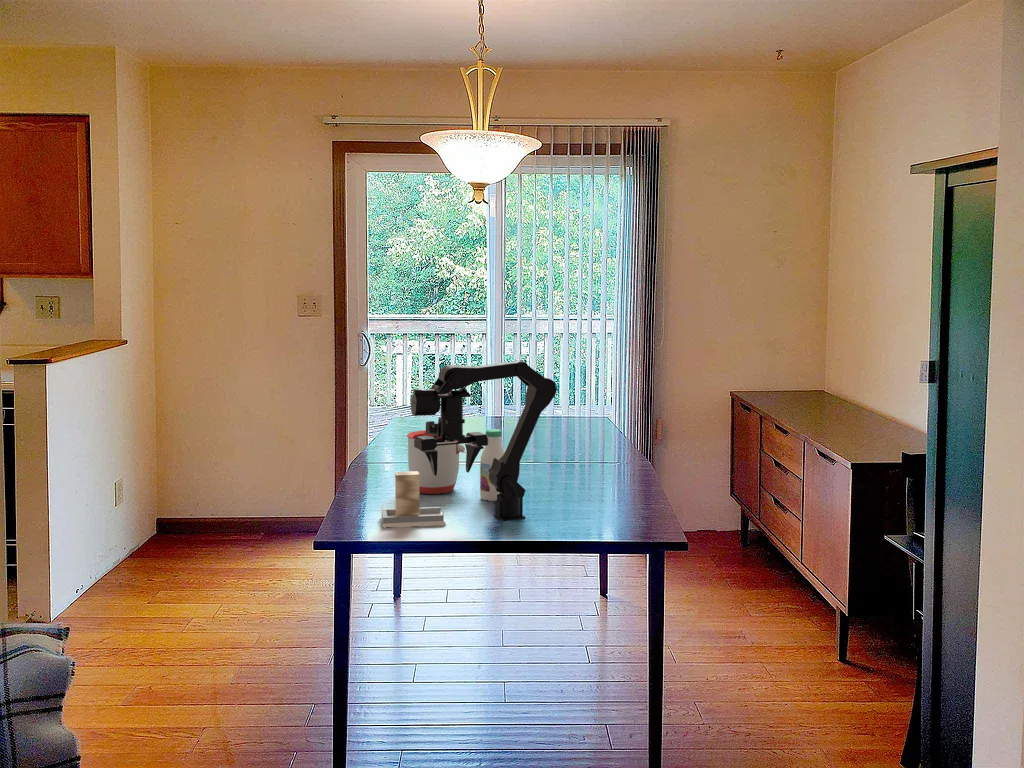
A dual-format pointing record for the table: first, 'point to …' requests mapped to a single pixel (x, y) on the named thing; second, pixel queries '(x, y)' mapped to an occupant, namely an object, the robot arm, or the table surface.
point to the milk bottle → (490, 463)
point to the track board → (414, 518)
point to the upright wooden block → (407, 493)
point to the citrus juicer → (445, 465)
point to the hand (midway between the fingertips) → (451, 473)
